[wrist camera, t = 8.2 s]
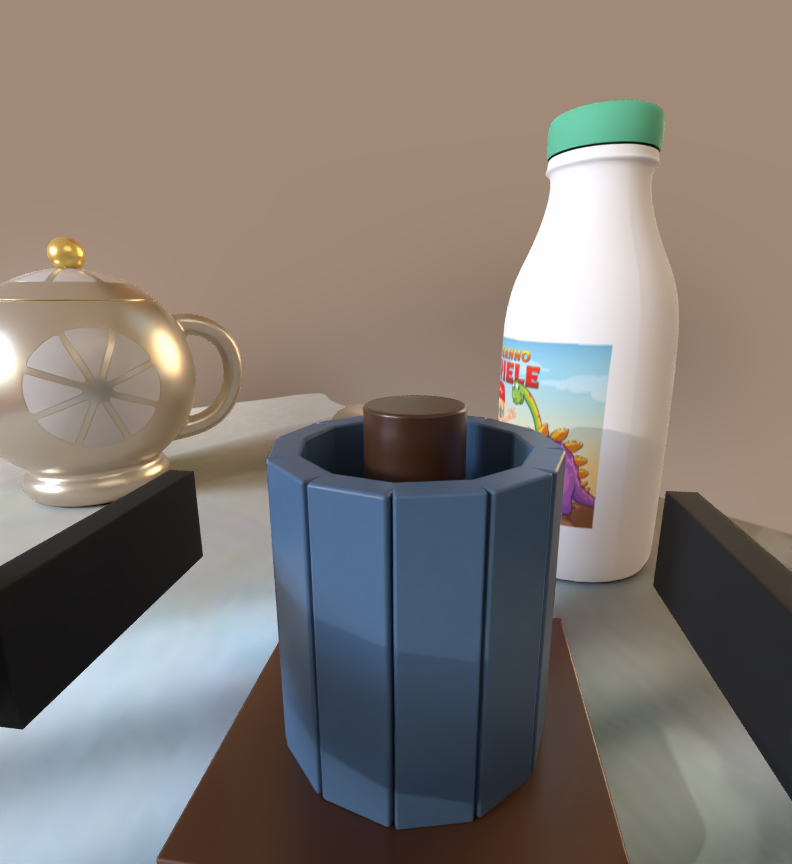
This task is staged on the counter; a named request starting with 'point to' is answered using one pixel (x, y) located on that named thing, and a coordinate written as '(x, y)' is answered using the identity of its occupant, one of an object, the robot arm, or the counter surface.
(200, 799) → the post stand
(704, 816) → the counter surface
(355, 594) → the ring sleeve
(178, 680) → the counter surface
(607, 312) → the milk bottle
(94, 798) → the counter surface
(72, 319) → the teapot
